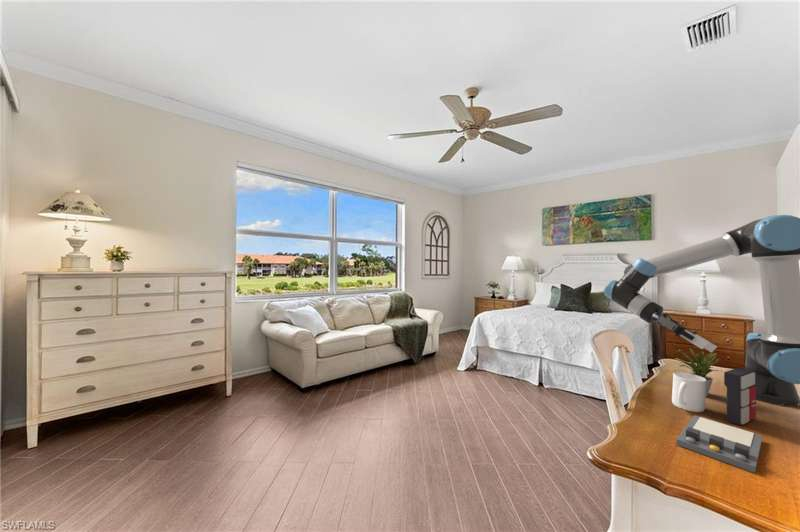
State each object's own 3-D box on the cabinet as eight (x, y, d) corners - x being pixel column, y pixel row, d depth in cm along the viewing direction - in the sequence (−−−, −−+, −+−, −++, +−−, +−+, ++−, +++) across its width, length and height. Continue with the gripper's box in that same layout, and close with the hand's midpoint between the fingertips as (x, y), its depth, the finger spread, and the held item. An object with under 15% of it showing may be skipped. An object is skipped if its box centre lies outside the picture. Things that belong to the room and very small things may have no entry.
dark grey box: (743, 427, 95) (743, 376, 95) (723, 420, 99) (723, 371, 99) (757, 419, 100) (757, 371, 101) (738, 413, 104) (738, 367, 104)
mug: (695, 418, 101) (697, 385, 100) (663, 407, 108) (664, 376, 107) (708, 409, 107) (710, 378, 107) (677, 399, 114) (678, 370, 114)
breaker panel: (693, 420, 99) (694, 408, 99) (761, 441, 88) (762, 428, 88) (676, 444, 85) (677, 431, 85) (755, 473, 74) (755, 458, 74)
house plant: (690, 383, 130) (692, 342, 130) (734, 397, 117) (737, 352, 116) (665, 386, 125) (667, 344, 125) (709, 402, 112) (711, 355, 112)
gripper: (649, 321, 131) (709, 358, 115) (626, 312, 116) (692, 353, 100) (662, 306, 129) (726, 342, 113) (641, 295, 114) (710, 335, 98)
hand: (710, 348), depth 106 cm, fingers open, 13 cm apart
